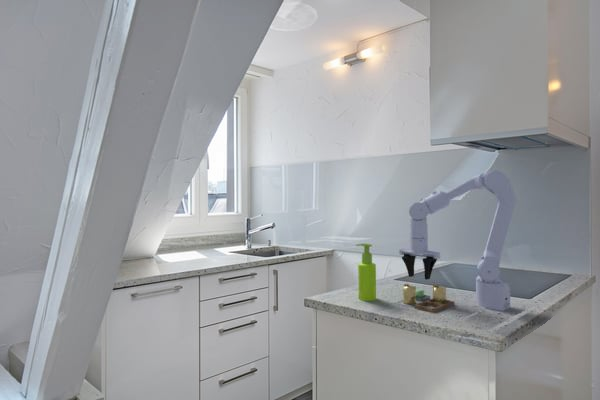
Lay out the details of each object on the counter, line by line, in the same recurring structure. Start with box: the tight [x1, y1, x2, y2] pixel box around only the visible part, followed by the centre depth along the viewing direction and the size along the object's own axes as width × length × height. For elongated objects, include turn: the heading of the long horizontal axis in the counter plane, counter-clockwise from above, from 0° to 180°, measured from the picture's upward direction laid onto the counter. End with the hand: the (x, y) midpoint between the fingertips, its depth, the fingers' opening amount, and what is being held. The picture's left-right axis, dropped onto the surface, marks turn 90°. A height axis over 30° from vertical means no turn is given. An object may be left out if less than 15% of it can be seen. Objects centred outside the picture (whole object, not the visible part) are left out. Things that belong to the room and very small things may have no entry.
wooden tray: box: [413, 298, 455, 314], centre depth 124 cm, size 8×13×2 cm, turn 131°
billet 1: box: [402, 283, 417, 306], centre depth 128 cm, size 4×4×7 cm
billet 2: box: [432, 283, 447, 304], centre depth 126 cm, size 4×4×7 cm
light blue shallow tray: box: [393, 299, 421, 308], centre depth 128 cm, size 7×8×1 cm
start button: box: [416, 289, 425, 298], centre depth 134 cm, size 3×3×3 cm
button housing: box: [416, 294, 431, 303], centre depth 134 cm, size 5×5×2 cm
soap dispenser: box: [355, 243, 377, 302], centre depth 135 cm, size 6×7×20 cm
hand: (419, 277), depth 134 cm, fingers open, 6 cm apart
